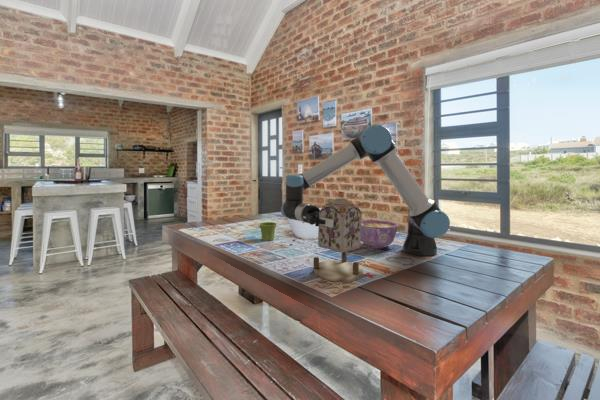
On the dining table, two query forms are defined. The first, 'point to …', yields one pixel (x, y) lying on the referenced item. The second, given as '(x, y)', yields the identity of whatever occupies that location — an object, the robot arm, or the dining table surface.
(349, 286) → the dining table surface
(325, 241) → the decorative jar
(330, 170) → the robot arm
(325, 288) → the dining table surface
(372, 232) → the bowl of food
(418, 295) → the dining table surface
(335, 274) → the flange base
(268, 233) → the plant pot
